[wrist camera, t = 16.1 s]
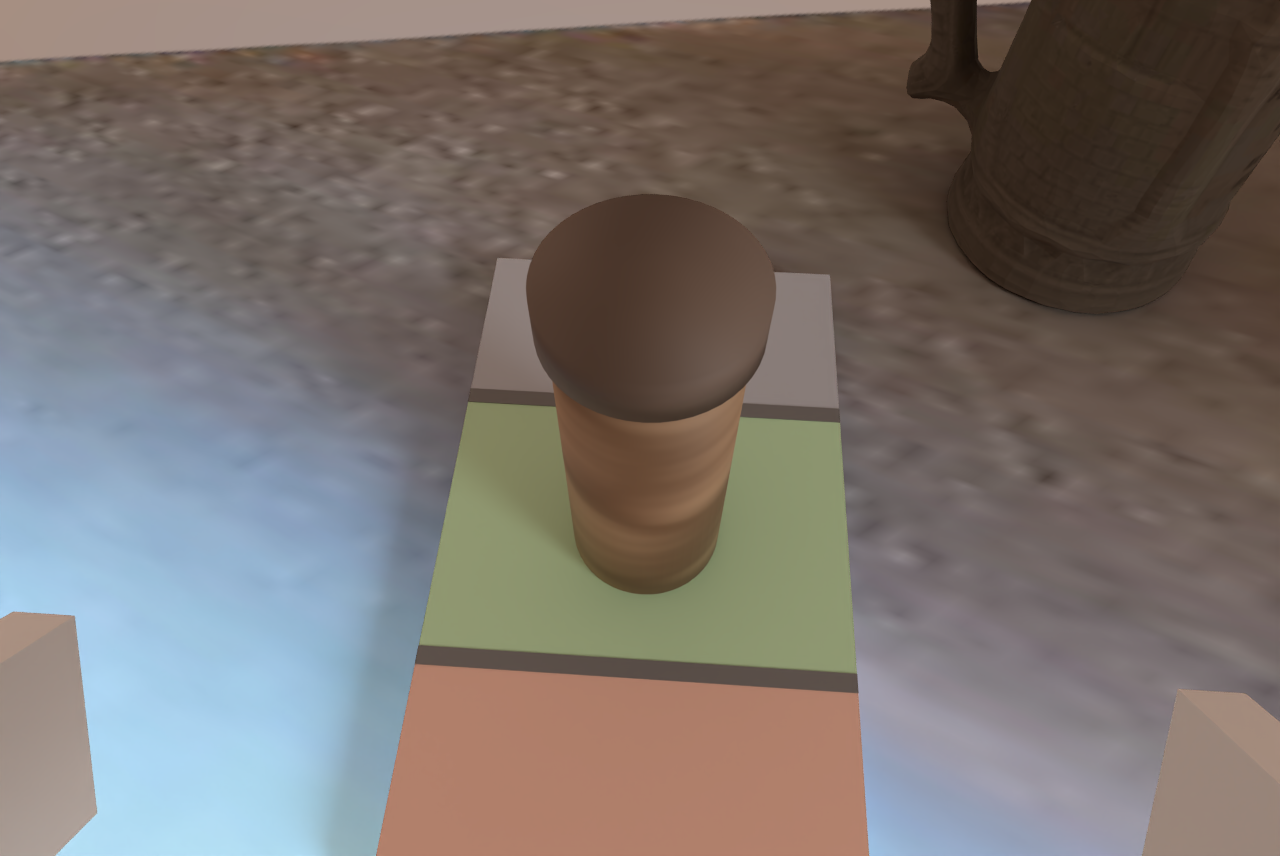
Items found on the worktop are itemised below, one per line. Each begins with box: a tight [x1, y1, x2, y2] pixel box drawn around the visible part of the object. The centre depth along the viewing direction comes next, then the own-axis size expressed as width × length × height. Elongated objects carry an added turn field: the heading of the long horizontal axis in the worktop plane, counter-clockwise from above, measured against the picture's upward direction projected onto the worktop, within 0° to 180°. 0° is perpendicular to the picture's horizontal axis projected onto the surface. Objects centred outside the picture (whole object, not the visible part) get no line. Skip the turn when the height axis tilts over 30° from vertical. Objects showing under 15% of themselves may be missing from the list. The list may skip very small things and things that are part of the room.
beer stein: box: [907, 0, 1280, 314], centre depth 32 cm, size 15×11×20 cm
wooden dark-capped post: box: [526, 194, 776, 594], centre depth 25 cm, size 6×6×12 cm
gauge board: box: [376, 258, 869, 856], centre depth 30 cm, size 14×24×1 cm, turn 176°
